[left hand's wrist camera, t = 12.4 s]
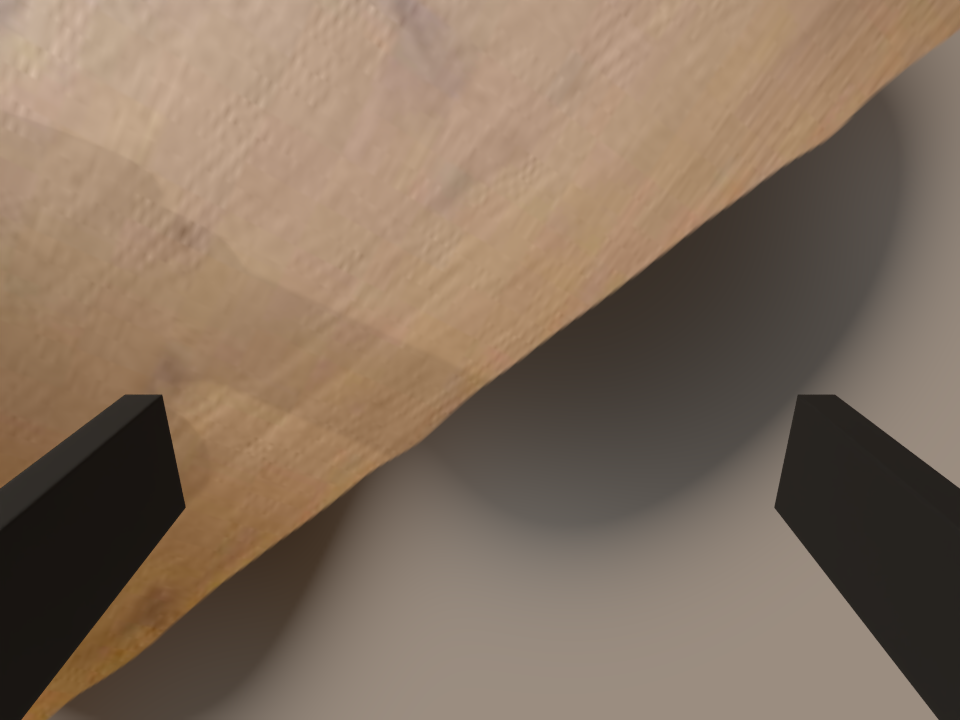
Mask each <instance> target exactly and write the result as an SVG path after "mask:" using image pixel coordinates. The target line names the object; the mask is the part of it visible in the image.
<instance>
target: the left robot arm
mask: <svg viewBox="0 0 960 720" xmlns="http://www.w3.org/2000/svg"><path fill="white" fill-rule="evenodd" d="M185 508H186V507H185V502H184V497H183V492H182V488H181V483H180V478H179V473H178V468H177V464H176V459H175V454H174V449H173V444H172V440H171V435H170V430H169V425H168V420H167V416H166V411H165V406H164V401H163V397H162V395H124V396H123V397H121V398H120V399H119V400H117V401H116V402H115V403H113V404H112V405H111V406H109V407H108V408H107V409H105V410H104V411H103V412H101V413H100V414H99V415H97V416H96V417H95V418H93V419H92V420H91V421H89V422H88V423H87V424H85V425H84V426H83V427H81V428H80V429H79V430H77V431H76V432H75V433H73V434H72V435H71V436H69V437H68V438H67V439H66V440H64V441H63V442H62V443H60V444H59V445H58V446H56V447H55V448H54V449H52V450H51V451H50V452H48V453H47V454H46V455H44V456H43V457H42V458H40V459H39V460H38V461H36V462H35V463H34V464H32V465H31V466H30V467H28V468H27V469H26V470H24V471H23V472H22V473H20V474H19V475H18V476H16V477H15V478H14V479H12V480H11V481H10V482H8V483H7V484H6V485H4V486H3V487H2V488H0V720H21V719H22V718H23V717H24V716H25V714H26V713H27V712H28V710H29V709H30V708H31V706H32V705H33V704H34V703H35V701H36V700H37V699H38V697H39V696H40V695H41V694H42V692H43V691H44V690H45V688H46V687H47V686H48V685H49V683H50V682H51V681H52V679H53V678H54V677H55V675H56V674H57V673H58V672H59V670H60V669H61V668H62V666H63V665H64V664H65V663H66V661H67V660H68V659H69V657H70V656H71V655H72V654H73V652H74V651H75V650H76V648H77V647H78V646H79V645H80V643H81V642H82V641H83V639H84V638H85V637H86V635H87V634H88V633H89V632H90V630H91V629H92V628H93V626H94V625H95V624H96V623H97V621H98V620H99V619H100V617H101V616H102V615H103V614H104V612H105V611H106V610H107V608H108V607H109V606H110V604H111V603H112V602H113V601H114V599H115V598H116V597H117V595H118V594H119V593H120V592H121V590H122V589H123V588H124V586H125V585H126V584H127V583H128V581H129V580H130V579H131V577H132V576H133V575H134V574H135V572H136V571H137V570H138V568H139V567H140V566H141V564H142V563H143V562H144V561H145V559H146V558H147V557H148V555H149V554H150V553H151V552H152V550H153V549H154V548H155V546H156V545H157V544H158V543H159V541H160V540H161V539H162V537H163V536H164V535H165V533H166V532H167V531H168V530H169V528H170V527H171V526H172V524H173V523H174V522H175V521H176V519H177V518H178V517H179V515H180V514H181V513H182V512H183V510H184V509H185ZM775 509H776V510H777V512H778V513H779V514H780V515H781V517H782V518H783V519H784V521H785V522H786V523H787V524H788V526H789V527H790V528H791V530H792V531H793V532H794V533H795V535H796V536H797V537H798V539H799V540H800V541H801V543H802V544H803V545H804V546H805V548H806V549H807V550H808V552H809V553H810V554H811V555H812V557H813V558H814V559H815V561H816V562H817V563H818V564H819V566H820V567H821V568H822V570H823V571H824V572H825V573H826V575H827V576H828V577H829V579H830V580H831V581H832V583H833V584H834V585H835V586H836V588H837V589H838V590H839V591H840V593H841V594H842V595H843V597H844V598H845V599H846V601H847V602H848V603H849V604H850V606H851V607H852V608H853V610H854V611H855V612H856V614H857V615H858V616H859V617H860V619H861V620H862V621H863V623H864V624H865V625H866V626H867V628H868V629H869V630H870V632H871V633H872V634H873V635H874V637H875V638H876V639H877V641H878V642H879V643H880V644H881V646H882V647H883V648H884V650H885V651H886V652H887V654H888V655H889V656H890V657H891V659H892V660H893V661H894V663H895V664H896V665H897V666H898V668H899V669H900V670H901V672H902V673H903V674H904V675H905V677H906V678H907V679H908V681H909V682H910V683H911V685H912V686H913V687H914V688H915V690H916V691H917V692H918V693H919V695H920V696H921V697H922V699H923V700H924V701H925V703H926V704H927V705H928V706H929V708H930V709H931V710H932V712H933V713H934V714H935V716H936V717H937V718H938V719H939V720H960V488H958V487H957V486H956V485H954V484H953V483H952V482H950V481H949V480H948V479H946V478H945V477H944V476H942V475H941V474H940V473H938V472H937V471H936V470H934V469H933V468H932V467H930V466H929V465H928V464H926V463H925V462H924V461H922V460H921V459H920V458H918V457H917V456H916V455H914V454H913V453H912V452H910V451H909V450H908V449H906V448H905V447H904V446H902V445H901V444H900V443H898V442H897V441H896V440H894V439H893V438H892V437H891V436H889V435H888V434H886V433H885V432H884V431H882V430H881V429H880V428H879V427H877V426H876V425H875V424H873V423H872V422H871V421H869V420H868V419H867V418H865V417H864V416H863V415H861V414H860V413H859V412H857V411H856V410H855V409H853V408H852V407H851V406H849V405H848V404H847V403H845V402H844V401H843V400H841V399H840V398H839V397H837V396H836V395H798V396H797V401H796V406H795V411H794V416H793V420H792V425H791V430H790V435H789V440H788V444H787V449H786V454H785V459H784V464H783V468H782V473H781V478H780V483H779V488H778V492H777V497H776V502H775Z"/></svg>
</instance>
